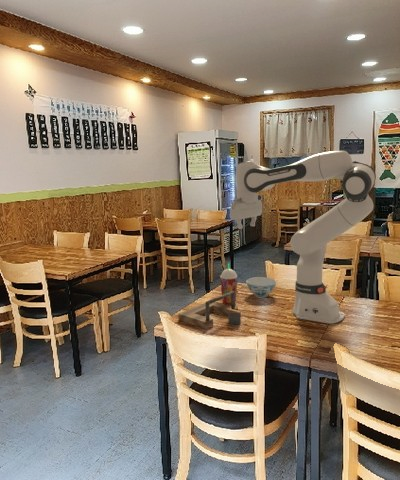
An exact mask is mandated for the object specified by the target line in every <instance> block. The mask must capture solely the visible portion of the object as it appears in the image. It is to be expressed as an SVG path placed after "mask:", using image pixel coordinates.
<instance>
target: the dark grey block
mask: <svg viewBox="0 0 400 480" xmlns="http://www.w3.org/2000/svg"><path fill="white" fill-rule="evenodd" d="M241 314H242V313H241V310H240V309H238V310H233V309H229V316H228V324H230V326H231V325H232V326H238V325H240V324H241V323H242V321H241V319H242V318H241V316H242V315H241Z"/></svg>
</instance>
